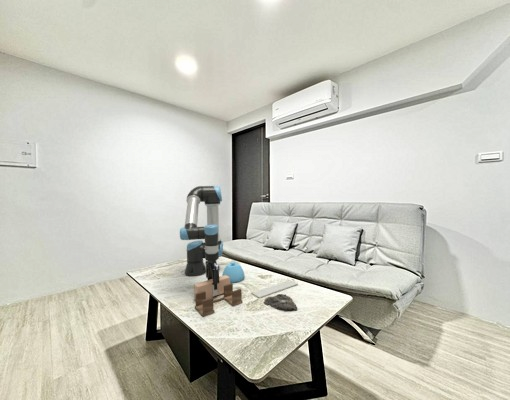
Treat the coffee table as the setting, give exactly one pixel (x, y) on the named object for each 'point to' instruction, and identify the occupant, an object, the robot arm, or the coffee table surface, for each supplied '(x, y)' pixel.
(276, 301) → the dark grey rock
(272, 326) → the coffee table surface
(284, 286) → the baseboard
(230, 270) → the sugar bowl
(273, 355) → the coffee table surface
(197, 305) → the rack
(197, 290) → the peach rectangular block
